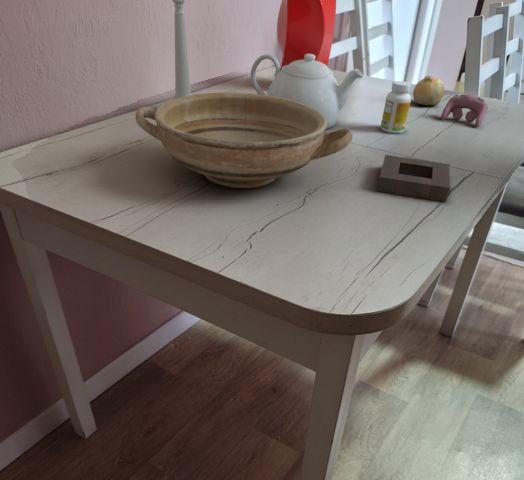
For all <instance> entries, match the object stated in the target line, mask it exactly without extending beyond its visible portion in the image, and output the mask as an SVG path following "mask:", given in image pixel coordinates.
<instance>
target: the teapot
mask: <svg viewBox="0 0 524 480" xmlns="http://www.w3.org/2000/svg"><path fill="white" fill-rule="evenodd" d="M304 58H305V60H297V61H294V62H292V63H290V64H289V65H286V66H283V67H282V70H281V69H280V68H281V64H280V61H279V59H278V58H277V57H276V56H274V55H273V54H271V53H264V54H262V55H260V56H259V57H258V58H256V60H255V61H254V63H253V64H252V66H251V69H250V81H251V85H252V87H253V89H254V90H255V92H256V94H262V95H270V96H275V97H281V98H285V99H289V100H293V101H296V102H299V103H302V104H305V105H307V106H310V107H312V108H314V109H315V110H317V111H319V112H320V113H321V114H322V115H323V116H324V117H325V119H326V121H327V127H326V129H325V130H328V129H331V128H333V127H334V126H335V125H336V124H337V122H338V120H339V118H340V114H341V110H342V109H343V108H344V107H345V105H346V103H347V101H348V99H349V96H350V93H351V90H352V87H353V84H354V82H355V81H356V79H362V78H363V77H364V76H363V74H362V72H361V70H359V69H358V68H354V69H352V70H350V71H349V72H348V73H347V75H346V76H345V77H344V78H343V80H342V82H341V83H340V84H338V81H337V80H336V78H335V76H334V73H333V70H331V69H330V68H329V67H328V65H327V66H326V65H325V64H323V63H321V62H318V61H315V58H316V56H315V55H313V54H305V55H304ZM264 60H270V61H271V62H272V63H273V64H274V66H275V67H274V68H275V72H274V78H273V79H272V81H271V83H270V85H269V87H268V89H267V93H265V92H264V91H263V90H262V88H261V87H260V85H259V83H258V82H257V76H256V74H257V73H256V72H257V69H258V66H259V65H260V64H261V62H262V61H264Z"/></svg>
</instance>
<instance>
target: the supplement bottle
mask: <svg viewBox="0 0 524 480" xmlns="http://www.w3.org/2000/svg"><path fill="white" fill-rule="evenodd" d="M411 89H412V83H410V82H408V81H402V80H395V81H392V83H391V91H390V92H388V93H387V95H386V98H385V103H384V108H383V111H382V118H381V123H380V129H381V130H382V131H383V132H386V133H390V134H401V133H403V132H404V131H405V129H406V128H405V127H406V125H407V124H406V123H407V120H408V115H409V110H410V107H411V102H412V96H411V95H410V94H409V92H410V91H411Z"/></svg>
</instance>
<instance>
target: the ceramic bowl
mask: <svg viewBox="0 0 524 480" xmlns="http://www.w3.org/2000/svg"><path fill="white" fill-rule="evenodd" d="M148 119H151V120H153V121H155V122H156V125H155V124H154V123H152V122H150V121H149V120H148ZM135 121H136V124H137V125H138V126H139V127H140V128H141V129H142V130H143V131H144V132H146V133H147V134H148V135H150V136H151V137H153V138H155V139H157V140H158V141H160V142H161V144H162V146H163V148H164V149H165V151H166V152H167V153H168V155H170V157H171V158H172V159H173V160H175V161H176V162H177V163H179V164H180V165H181V166H183V167H185V168H187V169H189V170H191V171H193V172H195V173H198V174H200V175H203V176H204V177H205V178H206V179H207V180H209V181H210V182H212V183H214V184H216V185H220V186H223V187H226V188H227V187H228V188H235V189H252V188H259V187H264V186H266V185H267V186H268V185H269V184H271V183H272V182H274V181H275V180H276V179H277V178H281V177H284V176H287V175H290V174H293V173H294V172H295V173H296V172H297V171H298V170H301V169H302V168H304V167H305V166H306V165H308V164H309V163H310V162H312V161H315V160H318V159H322V158H325V157H326V158H327V157H329V156H331V155H334V154H336V153H339V152H341V151H343V150H344V149H346V148H347V147H348V146H349V145H350V143H352V140H353V137H354V136H353V132H352V130H350V129H349V128H341V129H336V130H333V131H330V132H326V133H325V130H327V129H326V127H327V121H326V119H325V117H324V116H323V115H322V114H321V113H320V112H319V111H317V110H315V109H314V108H312V107H310V106H307V105H305V104H302V103H299V102H296V101H293V100H289V99H285V98H281V97H275V96H270V95H267V94H265V95H262V94H258V93H254V92H253V93H251V92H236V91H235V92H234V91H233V92H231V91H230V92H229V91H228V92H227V91H225V92H221V91H220V92H205V93H195V94H191V95H189V96H184V97H180V98H177V99H173V100H171V101H168V102H166V103H164V104H162V105H161V106H160V107H159V108H158V109H157V110H156V108H154V107H151V106H142V107H139V108H138V109H137V110H136V112H135Z"/></svg>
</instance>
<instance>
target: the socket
mask: <svg viewBox="0 0 524 480" xmlns="http://www.w3.org/2000/svg"><path fill="white" fill-rule="evenodd" d="M450 173H451V172H450V163H445V162H438V161H430V160H426V159H425V160H424V159H417V158H412V157H411V158H410V157H403V156H398V155H397V156H396V155H391V154H390V155H389V154H384V159H383V163H382V166H381V170H380V173H379V177H378V182H377V187H376V192H381V193H388V194H394V195H400V196H406V197H412V198H418V199H422V200H423V199H424V200H431V201H437V202H441V203H442V202H443V203H446V202H447V199H448V197H449V193H450V190H451V174H450Z"/></svg>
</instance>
